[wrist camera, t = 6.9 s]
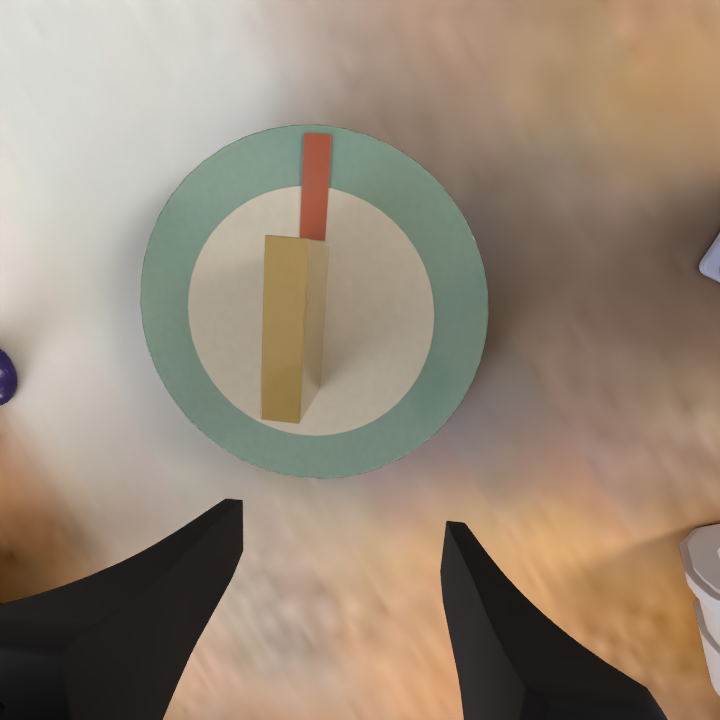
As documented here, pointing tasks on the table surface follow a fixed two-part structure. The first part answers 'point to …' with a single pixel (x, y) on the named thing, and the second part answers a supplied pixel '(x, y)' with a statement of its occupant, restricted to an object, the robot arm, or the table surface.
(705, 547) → the folded white towel
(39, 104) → the table surface
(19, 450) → the table surface
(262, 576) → the table surface
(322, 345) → the dial knob
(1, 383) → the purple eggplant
